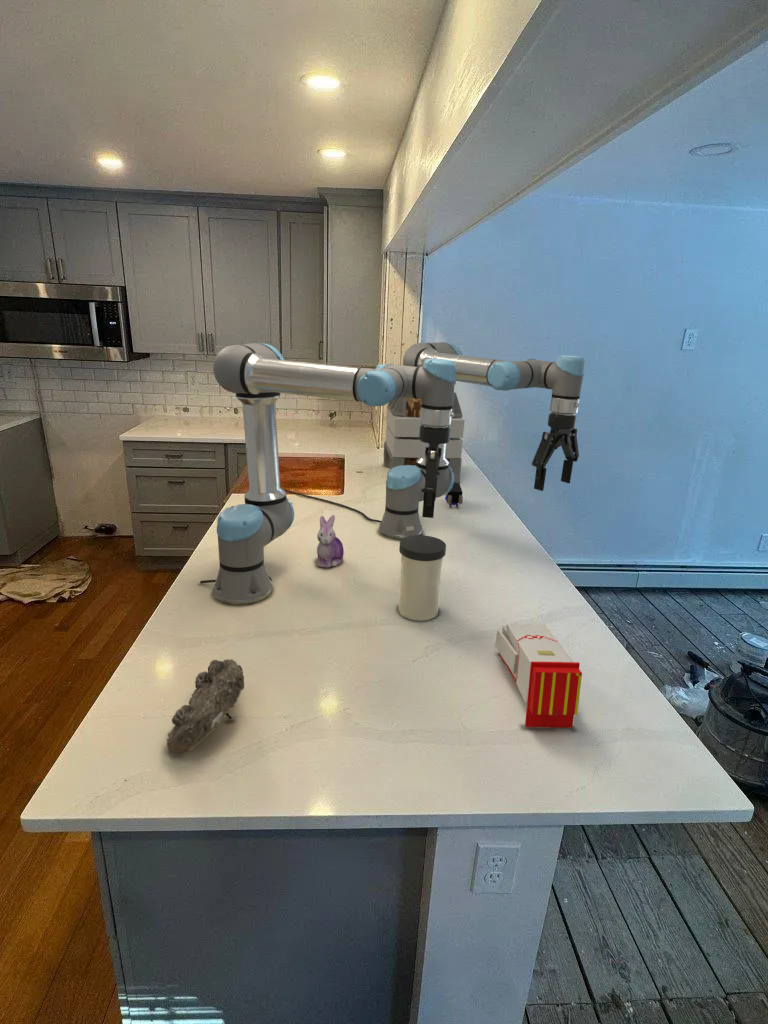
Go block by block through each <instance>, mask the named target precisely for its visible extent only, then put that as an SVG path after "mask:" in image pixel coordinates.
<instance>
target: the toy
mask: <svg viewBox="0 0 768 1024" xmlns="http://www.w3.org/2000/svg"><path fill="white" fill-rule="evenodd" d="M551 631H552V630H551V629H550V628H548V627H547V625H546V624H545V623H506V625H502V628H501V629H500V628H499V629H497V630H496V636H495V637H496V638H495V644H494V647H495V649H496V651H497V652H498V655H499V657H500V659H501V661H502V662H503V664H504V666H505V667H506V669H507V670H508V672H509V674H510V676H511V677H512V679H513V680H514V682H515V683H516V686H517V688H518V690H519V693H520V694H521V695H522V698H523V700H524V702H525V704H526V708H525V709H526V710H525V721H524V727H525V728H552V729H553V728H555V729H556V728H557V729H562V728H563V729H573V726H574V719H575V716H578V712H579V703H580V695H581V687H582V677H583V672H582V670H580V667H581V665H580V662H578V661H573V659H572V657H570V656H569V655H570V654H568V653H567V651H566V650H565V649H564V647H563V646H562V645H561V644H560V641H558V639H557V638H556V637H555V636H554V634H553V633H552V632H551Z"/></svg>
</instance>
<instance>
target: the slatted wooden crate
mask: <svg viewBox="0 0 768 1024" xmlns="http://www.w3.org/2000/svg"><path fill="white" fill-rule="evenodd" d="M421 403H422V402H421V399H415V398H398V399H395V400H393V401H391V402H389V403H387V404H386V413H385V414H386V415H385V423H386V428H385V438H384V442H383V466H384V467H388V468H389V470H390V469H392V468H394V467H396V466H401V465H404V466H405V465H413V466H416V461H417V459H418V458H420V457H421V449H422V441H420V440H419V432H420V426H421V425H422V424H421V423H420V413H421ZM452 406H453V407H452V412H453V413H454V414H455V415H454V416H453V417H451V425H449V427H450V428H451V432H450V441H449V442H448V443H446V453H445V458H446V459H447V461H448V462H449V466H450V467H451V469H452V473H454V482H455V483H459V484H460V483H461V472H462V461H463V460H462V453H463V442H464V441H463V440H462V439H463V438H464V431H465V430H464V429H465V419H464V418H463V411H462V408H461V405H460V402H459V398H458V395H457V392H455V391H454V396H453V405H452Z"/></svg>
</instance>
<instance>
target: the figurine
mask: <svg viewBox="0 0 768 1024" xmlns="http://www.w3.org/2000/svg"><path fill="white" fill-rule="evenodd" d="M335 518H336V515H334V514H332V515H331V516H330V517H329V518H328V520H326V518H325V516H324V515H321V516H320V517H319V530H318V532H317V536H316V538H317V541H318V544H317V547H316V555H317V559H316V562H317V566H318V567H320V568H321V567H322V568H331V567H337V566H338V565H340V564H342V562H343V559H344V554H345V553H344V552H345V551H344V544H343V543H342V541H341V540H340V539H339V538H338V537H337V536H336V532H335V530H334V524H335Z"/></svg>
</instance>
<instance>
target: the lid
mask: <svg viewBox="0 0 768 1024" xmlns="http://www.w3.org/2000/svg"><path fill="white" fill-rule="evenodd" d="M446 551H447V544H446V542H444V540H442V539H441V538H438V537H434V536H431V535H424V534H422V535H413V536H408V537H405V538H403V539H402V540H399V551H398V552H399V553H400V555H401V556H402V555H403V556H405V557H407V558H409V559H412V560H417V561H435V560H438V559H441V558H442V559H443V558H444V557H445V556H446Z"/></svg>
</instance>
